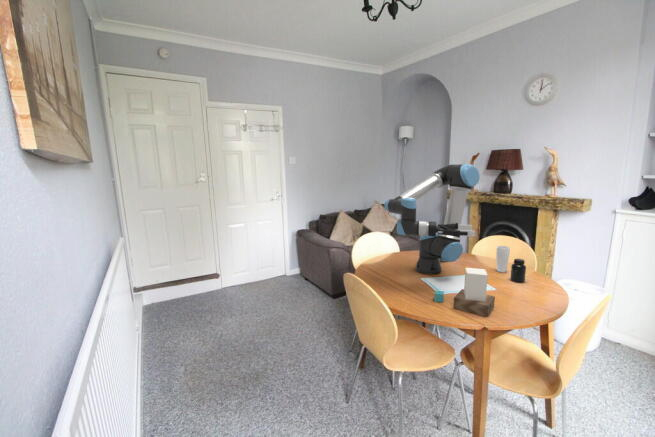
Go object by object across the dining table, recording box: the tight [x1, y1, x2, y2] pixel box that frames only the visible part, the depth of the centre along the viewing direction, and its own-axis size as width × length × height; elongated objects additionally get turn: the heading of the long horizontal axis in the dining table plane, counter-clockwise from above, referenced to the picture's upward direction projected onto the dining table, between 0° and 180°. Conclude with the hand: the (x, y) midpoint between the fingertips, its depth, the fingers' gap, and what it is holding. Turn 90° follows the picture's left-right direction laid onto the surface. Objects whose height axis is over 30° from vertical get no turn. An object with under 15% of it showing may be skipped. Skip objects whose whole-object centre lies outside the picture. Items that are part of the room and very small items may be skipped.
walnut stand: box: [453, 288, 496, 318], centre depth 138 cm, size 14×12×5 cm
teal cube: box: [434, 289, 445, 303], centre depth 146 cm, size 4×4×4 cm
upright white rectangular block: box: [463, 267, 489, 302], centre depth 136 cm, size 8×8×12 cm
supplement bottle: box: [510, 258, 527, 283], centre depth 168 cm, size 7×7×12 cm
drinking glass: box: [495, 245, 511, 273], centre depth 183 cm, size 7×7×15 cm
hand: (473, 230), depth 150 cm, fingers open, 13 cm apart
